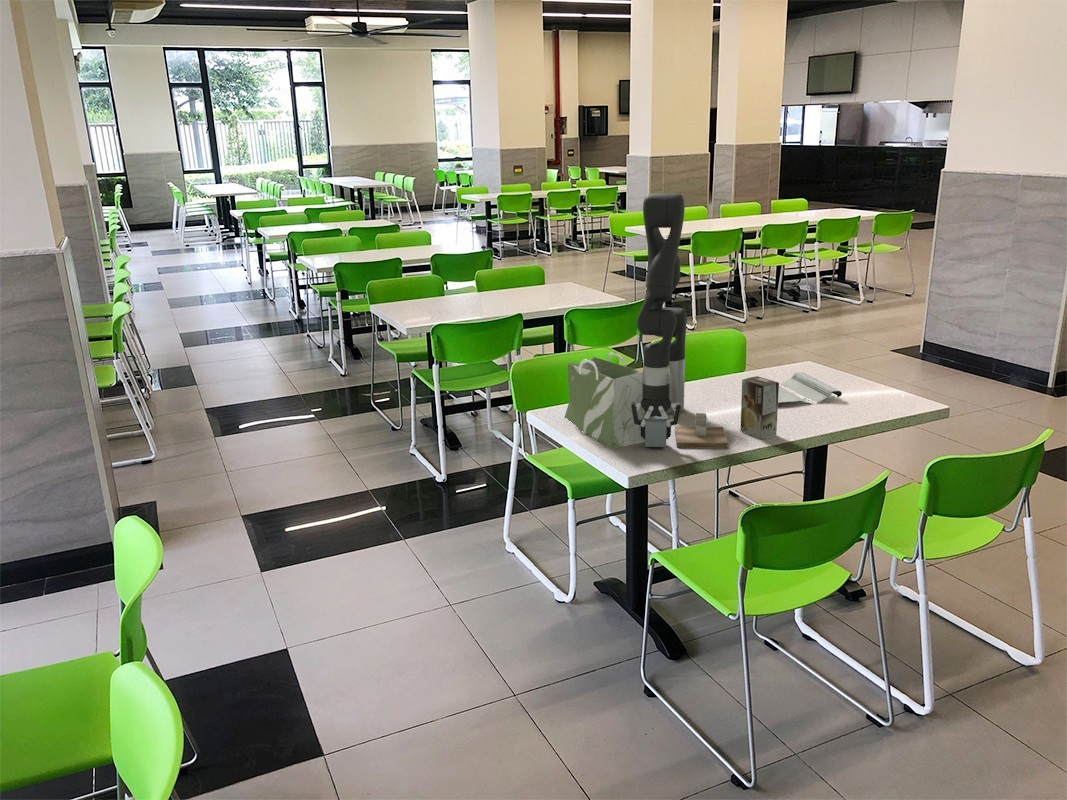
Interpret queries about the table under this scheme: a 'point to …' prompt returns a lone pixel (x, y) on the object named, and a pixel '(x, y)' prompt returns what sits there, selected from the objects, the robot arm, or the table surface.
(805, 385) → the mat
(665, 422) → the slate grey cube
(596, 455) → the table surface
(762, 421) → the coffee box
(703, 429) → the flat brown square board
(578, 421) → the grocery bag
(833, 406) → the table surface
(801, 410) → the table surface
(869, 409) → the table surface
